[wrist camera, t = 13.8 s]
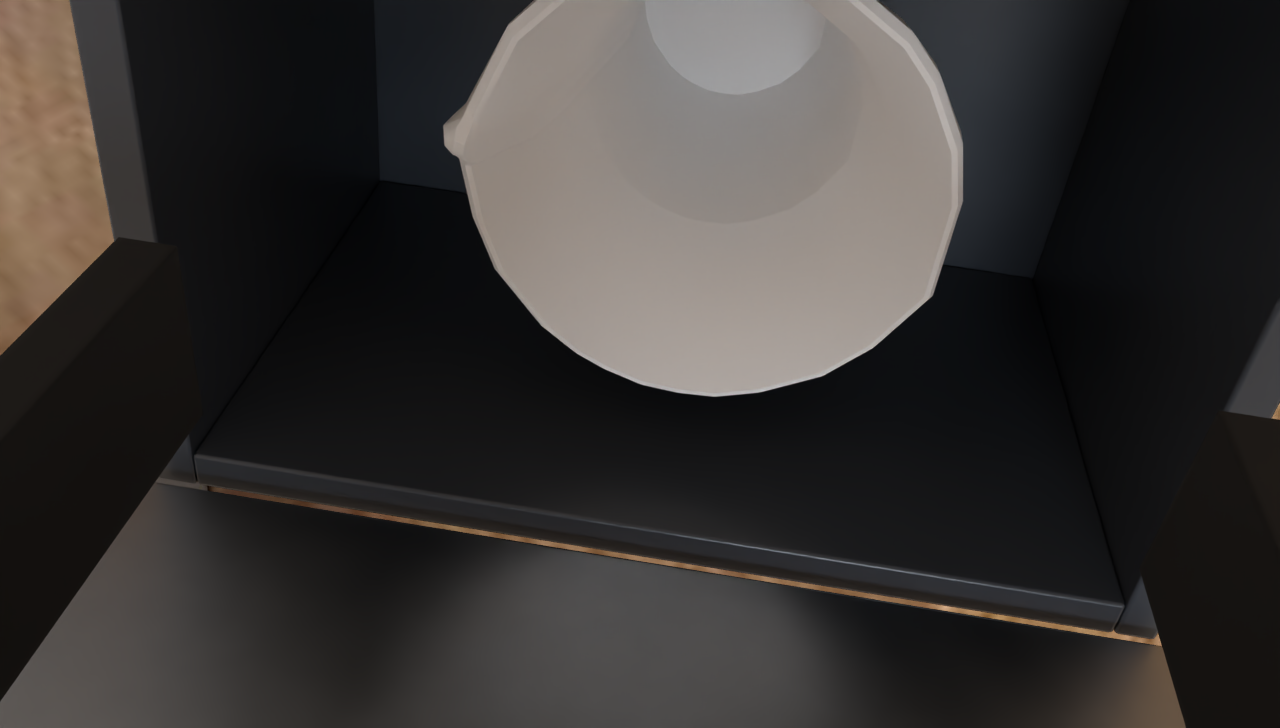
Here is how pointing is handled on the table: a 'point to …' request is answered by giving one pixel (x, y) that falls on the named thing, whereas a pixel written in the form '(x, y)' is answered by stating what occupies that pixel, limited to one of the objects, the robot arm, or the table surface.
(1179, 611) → the robot arm
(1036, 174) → the dark grey storage bin
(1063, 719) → the lid
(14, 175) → the table surface
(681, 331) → the cup
